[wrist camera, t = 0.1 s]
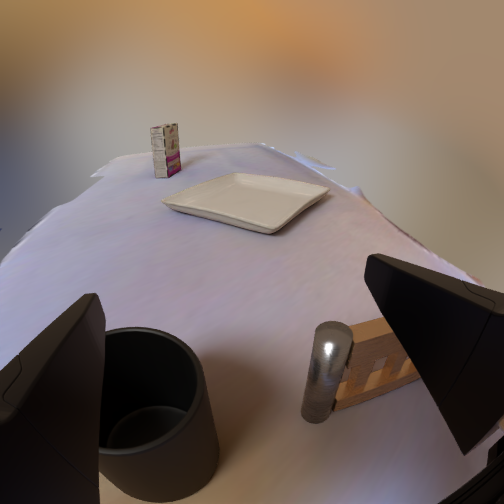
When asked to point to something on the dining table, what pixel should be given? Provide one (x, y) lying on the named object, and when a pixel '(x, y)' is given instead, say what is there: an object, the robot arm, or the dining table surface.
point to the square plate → (248, 200)
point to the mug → (155, 417)
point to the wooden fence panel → (353, 367)
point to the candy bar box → (165, 150)
